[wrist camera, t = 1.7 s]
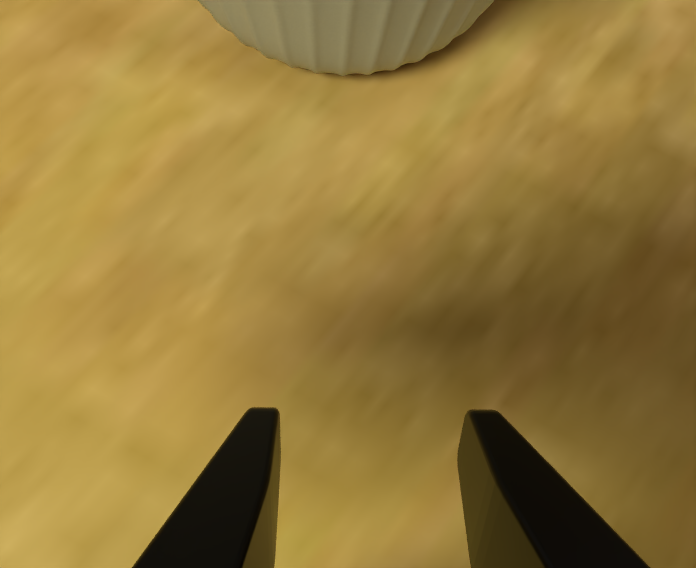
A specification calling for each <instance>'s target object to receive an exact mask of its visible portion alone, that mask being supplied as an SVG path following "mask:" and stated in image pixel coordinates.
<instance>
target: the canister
mask: <svg viewBox="0 0 696 568" xmlns="http://www.w3.org/2000/svg"><path fill="white" fill-rule="evenodd" d="M198 1H199V2H200V3H201V4H202V5H203V7H205V8H206V9H207V10H208V11H210V13H211V14H212V16H213V17H214V19H215V20H216V21H217V22H218V23H219V24H220V25H221V26H222V27H223V28H225V29H226V30H228V31H231V32H232V33H234V34H235V36H236V37H237V38H238V39H239V40H240V41H241V42H242V43H243V44H245V45H246V46H250V47H254V48H256V49H257V50H259V51H260V52H261V53H262V54H263V55H264V56H265V57H267V58H270V59H277V60H279V61H282V62H284V63H286V64H287V65H289V66H290V67H291V68H297V67H300V68H305V69H308V70H311V71H313V72H314V73H316V74H318V73H334V74H338V75H340V76H345V75H347V74H354V73H360V74H364V75H370V74H372V73H374V72H377V71H382V70H395V69H397V68H398V67H400V66H401V65H404V64H407V63H415V62H418V61H420V60H422V59H423V58H424V57H425V56H426V55H427V54H429V53H431V52H436V51H439V50H441V49H442V48H444V47H445V46H446V45H448V44H449V43H450V42H451V41H452V39H453V38H455V37H457V36H459V35H461V34H462V33H464V32H465V31H466V30H467V29H469V28H470V26H471V25H472V24H473V23H474V22H475V21H476V19H477V18H478V16H480V15H481V14H482V13H483V12H484V11H485V10H486V9H487V8H488V7H489V6H490V5H491V4H492V2H493V1H494V0H198Z"/></svg>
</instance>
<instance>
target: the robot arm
mask: <svg viewBox="0 0 696 568" xmlns="http://www.w3.org/2000/svg"><path fill="white" fill-rule="evenodd" d="M280 461H281V444H280V414H279V411H278V409H276V408H264V407H253V408H250V409H248V410H247V411H246V412H245V414H244V415H243V416H242V418H241V419H240V421H239V422H238V423H237V425H236V426H235V427H234V429H233V430H232V431H231V433H230V434H229V436H228V437H227V438H226V440H225V441H224V442H223V444H222V445H221V447H220V448H219V449H218V451H217V452H216V453H215V455H214V456H213V457H212V459H211V460H210V462H209V463H208V464H207V466H206V467H205V468H204V470H203V471H202V473H201V474H200V475H199V477H198V478H197V479H196V481H195V482H194V483H193V485H192V486H191V488H190V489H189V490H188V492H187V493H186V494H185V496H184V497H183V499H182V500H181V501H180V503H179V504H178V505H177V507H176V508H175V509H174V511H173V512H172V514H171V515H170V516H169V518H168V519H167V520H166V522H165V523H164V525H163V526H162V527H161V529H160V530H159V531H158V533H157V534H156V535H155V537H154V538H153V540H152V541H151V542H150V544H149V545H148V546H147V548H146V549H145V550H144V552H143V553H142V555H141V556H140V557H139V559H138V560H137V561H136V563H135V564H134V566H133V567H132V568H274V564H275V551H276V533H277V516H278V498H279V480H280ZM457 461H458V472H459V480H460V488H461V495H462V503H463V511H464V519H465V526H466V534H467V542H468V550H469V557H470V563H471V568H650V567H649V566H648V565H647V564H646V563H645V562H644V561H643V560H642V559H641V558H640V556H639V555H638V554H637V553H636V552H635V551H634V550H633V549H632V548H631V547H630V546H629V545H628V544H627V543H626V542H625V541H624V540H623V539H622V538H621V537H620V536H619V535H618V534H617V533H616V532H615V531H614V530H613V529H612V528H611V527H610V526H609V525H608V524H607V523H606V522H605V521H604V519H603V518H602V517H601V516H600V515H599V514H598V513H597V512H596V511H595V510H594V509H593V508H592V507H591V506H590V505H589V504H588V503H587V502H586V501H585V500H584V499H583V498H582V497H581V496H580V495H579V494H578V493H577V492H576V491H575V490H574V489H573V488H572V487H571V486H570V485H569V484H568V482H567V481H566V480H565V479H564V478H563V477H562V476H561V475H560V474H559V473H558V472H557V471H556V470H555V469H554V468H553V467H552V466H551V465H550V464H549V463H548V462H547V461H546V460H545V459H544V458H543V457H542V456H541V455H540V454H539V453H538V452H537V451H536V450H535V449H534V448H533V446H532V445H531V444H530V443H529V442H528V441H527V440H526V439H525V438H524V437H523V436H522V435H521V434H520V433H519V432H518V431H517V430H516V429H515V428H514V427H513V426H512V425H511V424H510V423H509V422H508V421H507V420H506V419H505V418H504V417H503V416H502V415H501V414H500V413H499V412H497V411H496V410H469V411H468V412H467V413H466V415H465V418H464V423H463V428H462V433H461V438H460V443H459V448H458V459H457Z"/></svg>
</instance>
